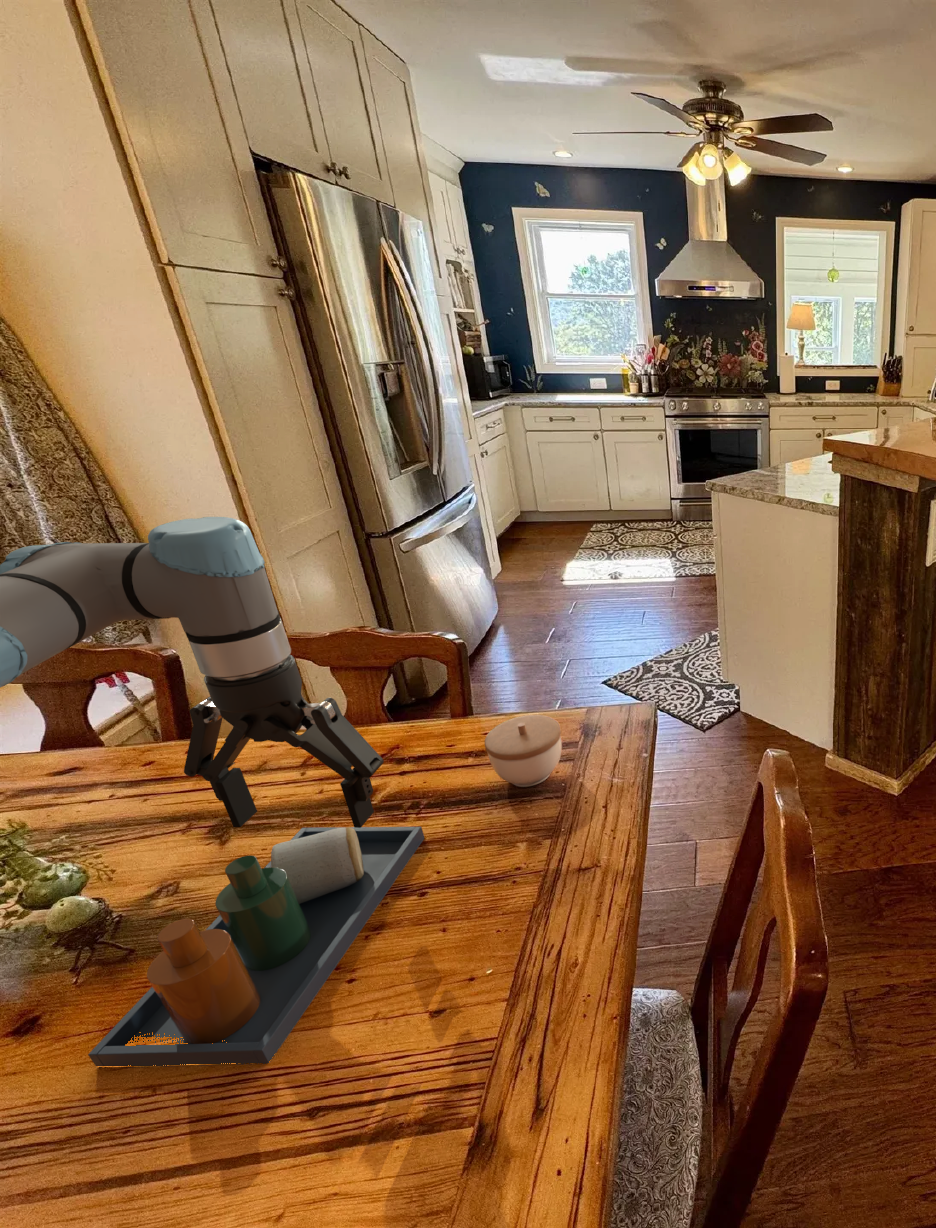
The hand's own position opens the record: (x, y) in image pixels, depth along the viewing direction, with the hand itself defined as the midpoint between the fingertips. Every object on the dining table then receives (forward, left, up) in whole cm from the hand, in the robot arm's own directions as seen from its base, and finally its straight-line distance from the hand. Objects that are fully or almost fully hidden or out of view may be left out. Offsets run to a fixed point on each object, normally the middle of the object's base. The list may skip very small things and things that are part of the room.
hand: (305, 819), depth 78 cm
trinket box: (+17, +22, -11) cm, 30 cm away
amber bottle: (0, -17, -10) cm, 20 cm away
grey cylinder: (-1, 0, -10) cm, 10 cm away
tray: (0, -7, -11) cm, 13 cm away
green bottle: (0, -9, -10) cm, 14 cm away
